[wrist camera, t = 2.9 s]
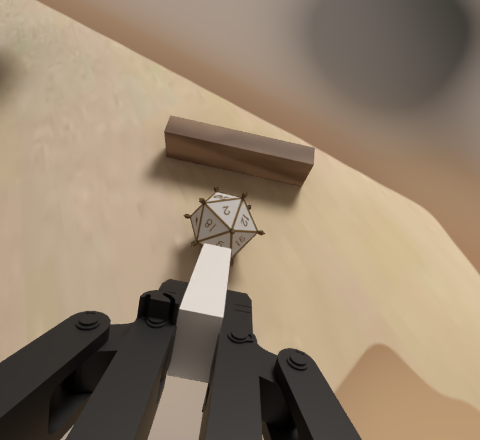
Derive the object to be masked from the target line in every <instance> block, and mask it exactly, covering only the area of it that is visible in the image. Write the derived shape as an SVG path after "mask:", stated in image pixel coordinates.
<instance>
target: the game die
mask: <svg viewBox="0 0 480 440" xmlns="http://www.w3.org/2000/svg"><path fill="white" fill-rule="evenodd" d="M218 190H219V189H218V187H217V186H216V185H215V187H214V191H215V193H214V194H213V195H212V196H210V197H209V198H208V199H207V200H206V201H205V200H204V199H203V198H199V200H200V201H199V202H201V203H202V205H201V206H200V207H199V208H198V209H197V210H196V211H195V212H194V213H193V214H192V215H189V214H185V215H184V217H185V218H187V219H188V218H190V220H191V224H192V228H193V232H194V235H195V239H196V241H193V242H192V243H191V246H193V247H194V246H196V245H197V243H198V244H199V245H201V246H202V247H203V245H204V243H206V244H210V245H215V246H220V247H225V248H230V249H231V257H230V265H231V266H233V263H234V262H233V260H232V258H233V257H234V256H235V255H236V254H237V253H238V252H239V251H240V250H241V249H242V248H243V247H244V246H245V245H246V244H247V243H248V242H249V241H250V240H251V239H252V238H253V237H254V236H255V235H256V234H257V233H258V234H259V235H263V234H265V233H264V232H263V230H262V231H261V230H260V231H258V230H257V227H256V225H255V223H254V220H253V218H252V216H251V214H250V211H249V210H250V209H251V205H248V206H247V204H246V202H245V200H244V198H246V196H247V192H245V193H243V194H242V197H239V196H235V195H230V194H226V193H221V192H218Z"/></svg>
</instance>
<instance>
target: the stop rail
mask: <svg viewBox="0 0 480 440" xmlns="http://www.w3.org/2000/svg"><path fill="white" fill-rule="evenodd" d="M164 133H165V143H166V153H167V157H171V158H175V159H180V160H184V161H189V162H193V163H198V164H203V165H207V166H212V167H216V168H221V169H225V170H230V171H234V172H239V173H244V174H248V175H253V176H257V177H262V178H266V179H271V180H276V181H280V182H285V183H289V184H294V185H298V186H302V185H303V183H304V181H305V180H306V178H307V176H308V174H309V172H310V170H311V169H312V167H313V165H314V150H315V148H313V147H308V146H304V145H299V144H295V143H291V142H286V141H282V140H277V139H273V138H268V137H264V136H260V135H255V134H251V133H246V132H242V131H237V130H233V129H228V128H224V127H220V126H215V125H211V124H206V123H202V122H197V121H193V120H188V119H184V118H180V117H175V116H170V118H169V121H168V123H167V126H166V128H165V131H164Z"/></svg>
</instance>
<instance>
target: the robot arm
mask: <svg viewBox="0 0 480 440" xmlns="http://www.w3.org/2000/svg"><path fill="white" fill-rule="evenodd" d="M230 257H231V249H230V248H225V247H220V246H215V245H210V244H206V243H204V245H203V248H202V250H201V253H200V255H199V258H198V261H197V263H196V266H195V269H194V271H193V274H192V276H191V279H190V282H189V283H187V282H182V281H177V280H172V279H169V280H167V281H166V282H164V283H162V285H161V286H160V288H159V290H153V291H148V292H145V293H143V294H142V295H141V296H140V300H139V307H138V314H137V319H136V320H135V322H133V323H129V324H111V325H110V322H111V320H110V319H109V317H108V316H107V315H105V314H104V313H101V312H97V311H85V312H80V313H77V314H75V315H73V316H70V317H69V318H67V319H66V320H64V321H63V322H61V323H60V324H58V325H57V326H55V327H54V328H52V329H51V330H49V331H48V332H46V333H45V334H43V335H42V336H40V337H39V338H37V339H35V340H34V341H32V342H31V343H29V344H28V345H26V346H25V347H23V348H22V349H20V350H19V351H17V352H16V353H14V354H13V355H11V356H10V357H8V358H7V359H5V360H4V361H2V362H1V363H0V440H60V439H61V438H62V437H63V436H64V435H65V434H66V433H67V431H68V430H69V429H70V428H71V427H72V426H73V425H74V426H73V428H72V429H71V431H70V433H69V434H68V436H67V438H66V439H65V440H147V439H148V435H149V433H150V430H151V426H152V423H153V420H154V416H155V414H156V411H157V407H158V404H159V401H160V398H161V395H162V392H163V388H164V384H165V379H166V374H167V375H169V376H174V377H180V378H185V379H190V380H195V381H201V382H206V383H208V387H207V391H206V396H205V401H204V404H203V409H202V412H203V416H202V422H201V429H200V435H199V440H262V434H263V438H264V440H362V439H361V438H360V436H359V434H358V433H357V431H356V429H355V428H354V426H353V424H352V423H351V421H350V419H349V418H348V416H347V414H346V413H345V411H344V410H343V408H342V406H341V404H340V403H339V401H338V399H337V398H336V396H335V394H334V393H333V391H332V389H331V388H330V386H329V384H328V383H327V381H326V379H325V378H324V376H323V375H322V373H321V371H320V370H319V368H318V366H317V365H316V363H315V362H314V360H313V359H312V358H311V357H310V356H309V355H307V354H306V353H304V352H302V351H300V350H297V349H292V348H288V349H283V350H281V351H280V352H279V354H278V356H277V355H275V354H273V353H270V352H268V351H266V350H265V349H263V348H262V347H260V346H259V345H258V344H257V339H256V336H255V335H254V334H253V326H252V301H251V299H250V298H249V296H248V295H247V294H246V293H241V292H236V291H231V290H227V282H228V274H229V266H230ZM167 371H168V373H167Z"/></svg>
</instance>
